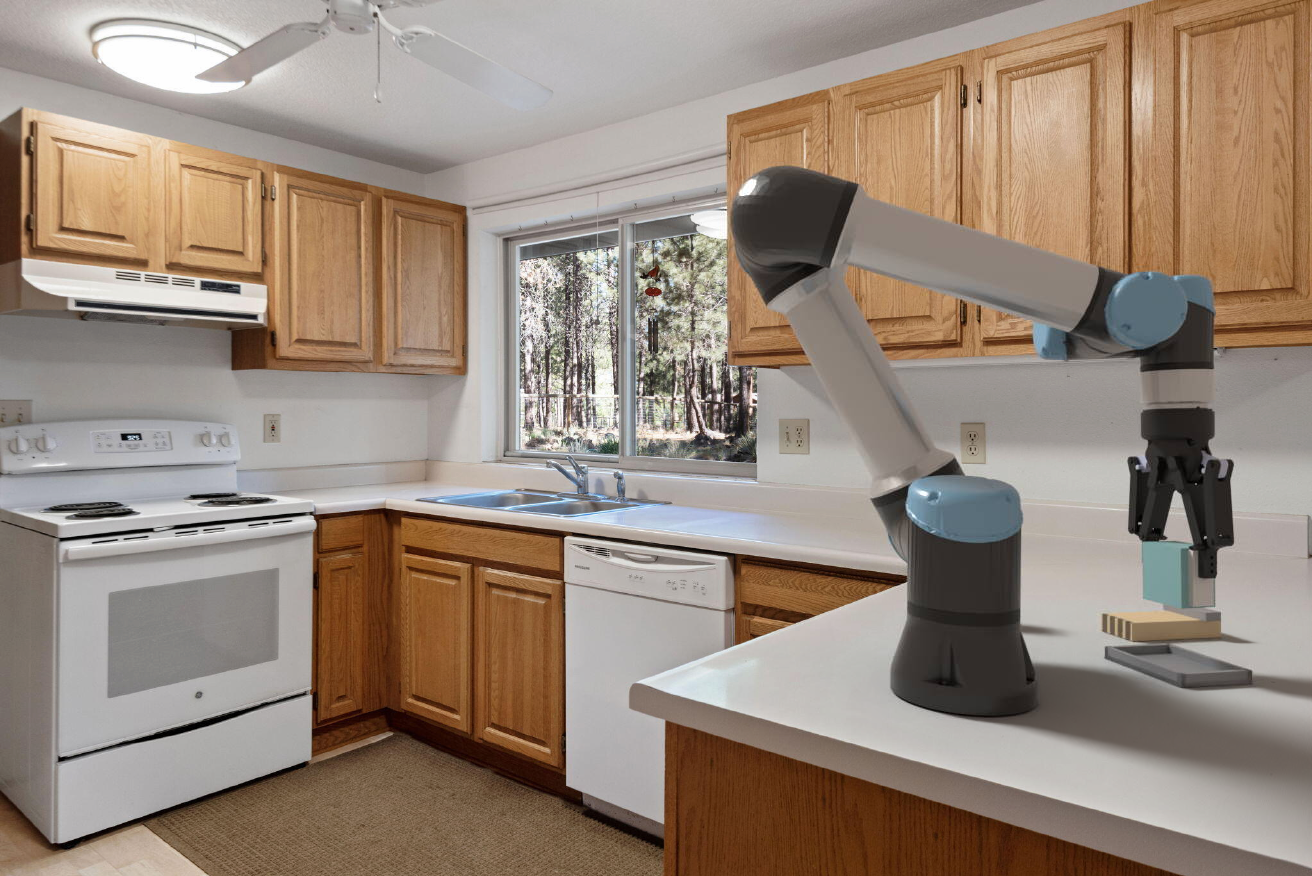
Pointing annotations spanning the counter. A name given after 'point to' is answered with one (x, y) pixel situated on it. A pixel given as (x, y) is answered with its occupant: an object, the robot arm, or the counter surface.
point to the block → (1167, 573)
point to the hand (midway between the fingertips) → (1178, 599)
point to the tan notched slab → (1163, 624)
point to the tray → (1178, 665)
